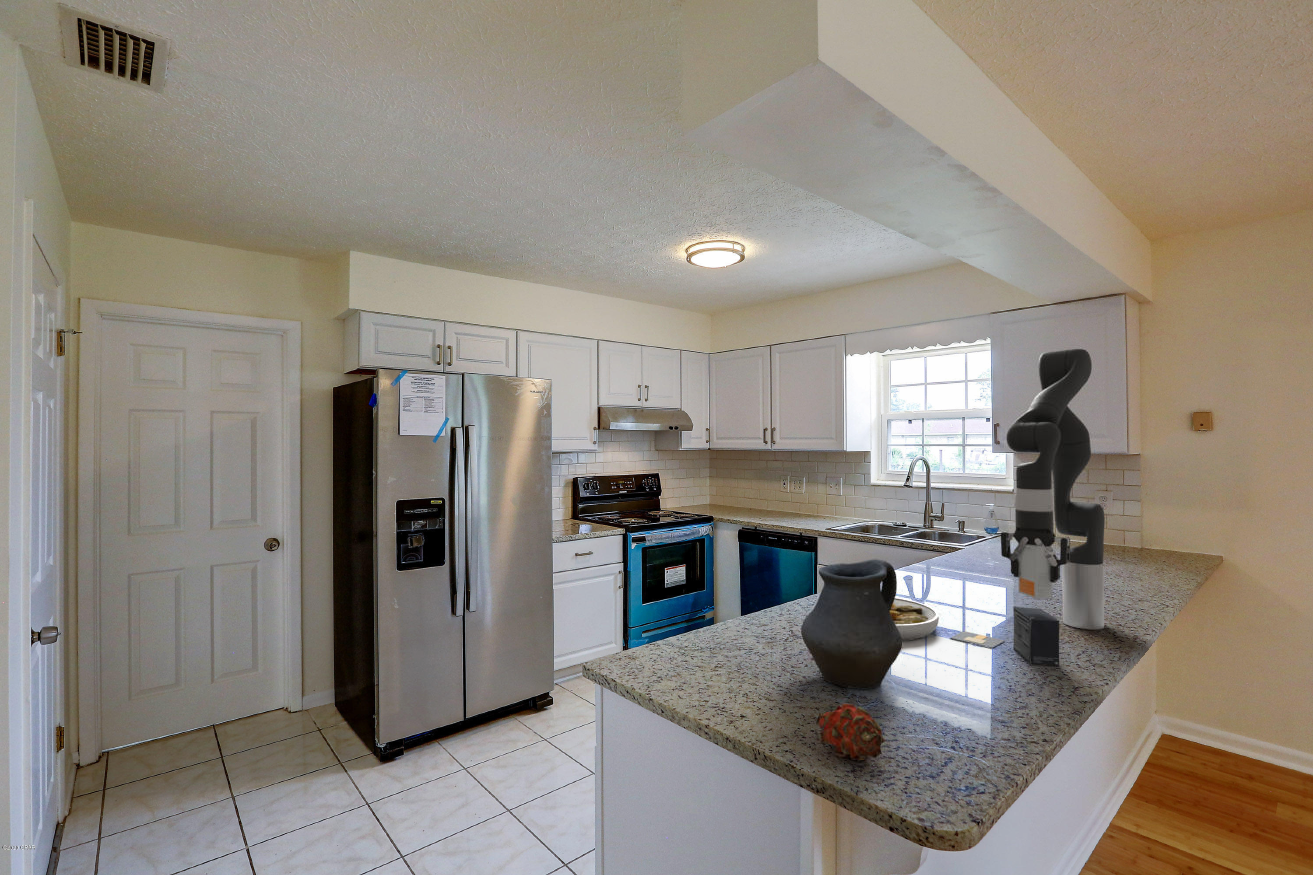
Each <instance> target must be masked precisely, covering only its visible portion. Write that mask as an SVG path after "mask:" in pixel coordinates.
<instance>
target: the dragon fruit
mask: <svg viewBox="0 0 1313 875" xmlns="http://www.w3.org/2000/svg"><path fill="white" fill-rule="evenodd" d="M815 719H816V720H815V721H816V724H817V725H818V727H819V729H821V730H822V731H821V732H817V737H818V740H819V743H820V744H823V743H824V744H828V745H834V746H835V750H834V753H835V755H836V756H837V757H839V758H845V757H847V756H848V755H849V757H850V759H852V760H854V761H858V762H859V761H860V760H864V759H865V760H866V758H867V757H870V758H874V759H875V758H878V757H879V756H881V755H882V748H881V747H882V744H883V743H885V742H886V738H884V736H883V734H882V733H883V731H882V728H881V726H880V725H879V724H878V722H877V721H876V720H875V719H874V718H872V716H871V714H870V713H869V712H868V711H866V710H865V708H863V707H861V706H855V705H854V704H852V703H844V702H843V703H841V704H840V705H837V708H835V710H833V711H827V712H825V713H821V714H819V715H818V716H817V717H816V718H815ZM865 760H864V761H865Z"/></svg>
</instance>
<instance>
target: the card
mask: <svg viewBox="0 0 1313 875" xmlns="http://www.w3.org/2000/svg"><path fill="white" fill-rule="evenodd" d="M950 640H953V641H958V642H961V641H962V643H966V644H970V643H973V644H972V645H974V644H977V645H976V646H978V645H981V646H980V647H983V646H987V647H990V648H989V649H991V648H993V647H995V646H996V647H998V646H1000V645H1001V644H1000V643H1002V644H1003V643H1005V642H1006V640H1005V639H1000V638H997V637H991V636H988V635H982V634H978V633H973V632H968V631H961V632H959V633H957V634H955V635H952V636H951V637H950ZM1004 641H1005V642H1004ZM999 644H1000V645H999ZM997 645H998V646H997ZM987 647H986V648H987ZM996 647H995V648H996ZM993 649H994V648H993Z"/></svg>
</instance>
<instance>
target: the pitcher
mask: <svg viewBox="0 0 1313 875" xmlns="http://www.w3.org/2000/svg"><path fill="white" fill-rule="evenodd" d="M818 575H819V576H820V578H821V580H822V581H823V587H822V589H821V592H820V594H819V596H818V599H817V602H816V604H815V605H814V607H813V609H812V610H811V611H810V612H809V613H808V614H807V615H806V617H805V618H804V620H803V621H802V625H801V631H800V634H801V638H802V640H803V642H804V645H805V646H806V648H807V649H808V651H809V654H811V657H812V658H813V662H815V665H816V667H817V668H818V670H819V672H820V674H821V676H822V678H823V679H824V680H825V681H826V682H828V683H830V684H833V685H837V686H839V687H842V688H851V689H852V688H854V689H866V690H867V689H873V688H877V687H878V686H881V685H882V682H883V681H884V679H885V677H886V676H887V673H888V672H889V671H890V668H891V667H892V665H893V664H894V663H895V662H896V660H897V658H898V656H899V655H900V653H901V651H902V648H903V646H904V645H903V644H904V643H903V641H904V640H903V641H902V637H901V634H900V632H899V630H898V628H897V627H896V625H895V623H894V621H893V619H892V617H891V615H890V610H891V607H892V604H893V602H894V599H895V598H896V596H897V589H898V588H897V587H898V583H897V582H898V580H897V573H896V570H895V568H894V566H893V565H892V563H890V562H887V561H886V560H883V559H876V558H874V559H873V558H872V559H866V560H863V561H858V562H851V563H836V564H835V563H834V564H828V565H825V566H821V567H819V569H818Z"/></svg>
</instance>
